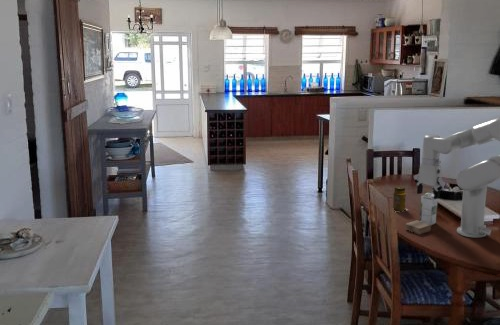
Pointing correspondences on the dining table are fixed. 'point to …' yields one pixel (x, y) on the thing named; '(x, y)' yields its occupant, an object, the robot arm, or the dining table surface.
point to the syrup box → (428, 209)
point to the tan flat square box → (418, 227)
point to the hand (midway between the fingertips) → (427, 196)
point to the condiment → (399, 199)
